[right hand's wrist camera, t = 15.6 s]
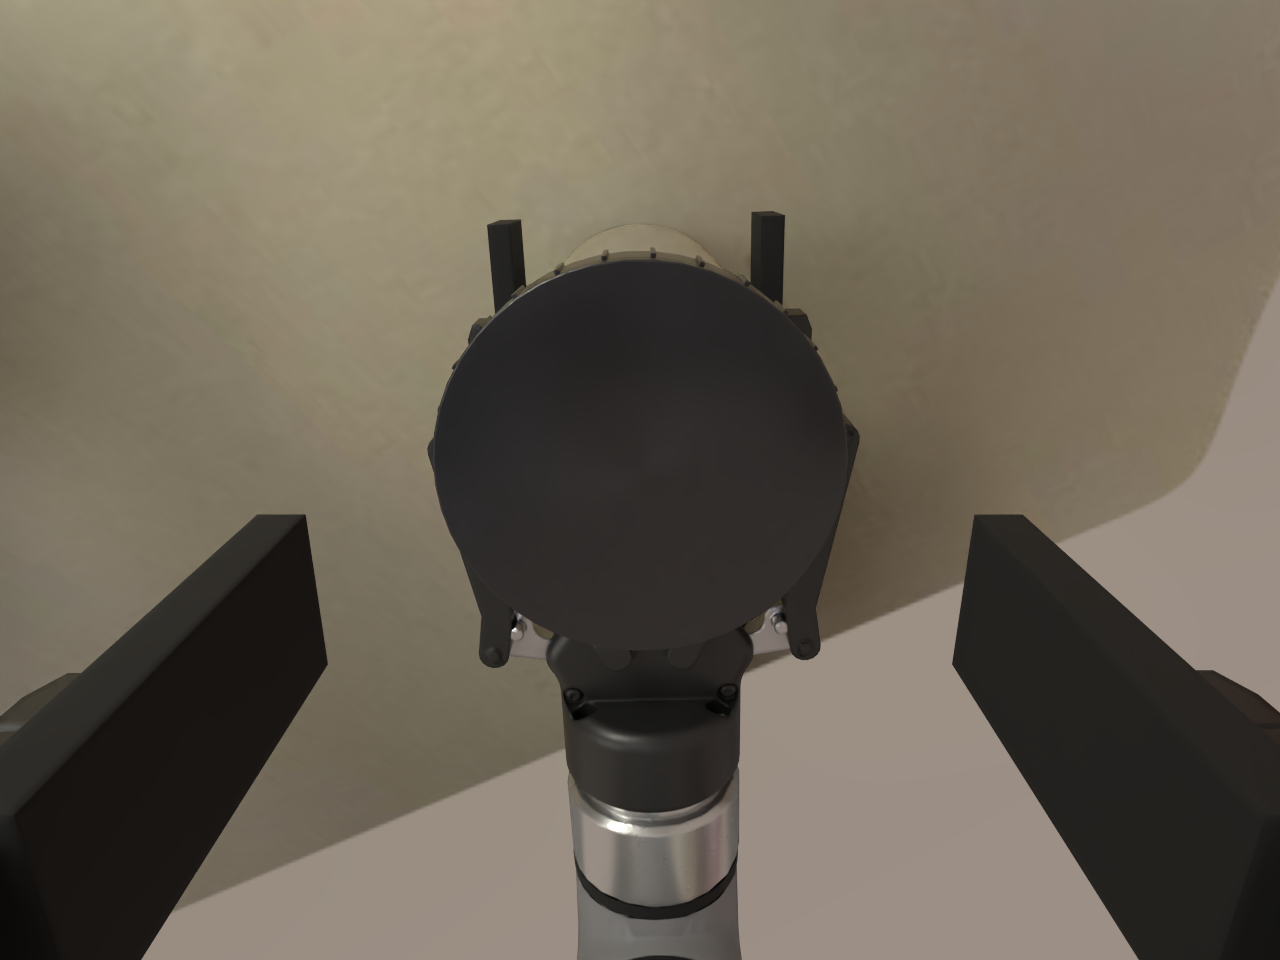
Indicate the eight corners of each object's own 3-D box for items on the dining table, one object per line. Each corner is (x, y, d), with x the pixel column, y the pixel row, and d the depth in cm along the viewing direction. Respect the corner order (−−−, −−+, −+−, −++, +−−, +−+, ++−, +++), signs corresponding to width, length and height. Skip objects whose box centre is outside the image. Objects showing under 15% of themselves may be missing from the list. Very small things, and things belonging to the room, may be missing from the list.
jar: (774, 331, 37) (896, 480, 19) (632, 451, 39) (626, 685, 21) (648, 180, 34) (657, 194, 17) (505, 315, 36) (381, 451, 19)
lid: (908, 460, 21) (933, 488, 19) (625, 676, 23) (624, 720, 21) (658, 156, 18) (660, 154, 16) (368, 429, 20) (342, 455, 19)
